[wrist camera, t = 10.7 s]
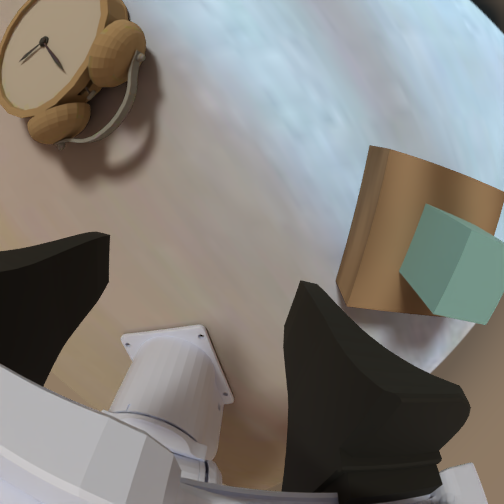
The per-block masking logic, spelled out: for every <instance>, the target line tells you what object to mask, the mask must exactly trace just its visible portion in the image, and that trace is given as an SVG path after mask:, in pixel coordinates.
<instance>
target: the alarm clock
mask: <svg viewBox="0 0 504 504" xmlns="http://www.w3.org/2000/svg"><path fill="white" fill-rule="evenodd" d="M145 50H146V40H145V36H144V33H143V31H142V30H141V28H140V27H139V26H138V25H137V24H135V23H133V22H130V21H128V14H127V8H126V6H125V4H124V3H123V1H122V0H28V1H27V2H26V3H25V4H24V5H23V6H22V7H21V8H20V9H19V11H18V12H17V14H16V15H15V17H14V18H13V20H12V21H11V23H10V24H9V26H8V28H7V30H6V32H5V34H4V36H3V39H2V41H1V44H0V104H1V105H2V106H3V108H4V109H5V110H6V111H7V113H9V114H12V115H14V116H17V117H20V118H27V117H33V118H31V119H30V120H29V122H28V123H27V126H28V131H29V133H30V135H31V137H32V138H33V139H34V140H35V141H37V142H39V143H42V144H53V145H57V148H58V149H59V150H63V149H64V147H65V143H67V142H76V143H86V142H95V141H98V140H101V139H103V138H104V137H106V136H107V135H109V134H111V133H112V132H113V131H114V130H115V129H116V128H117V127H119V125H120V124H121V123H122V122H123V120H124V119H125V118H126V116H127V114H128V113H129V111H130V109H131V108H132V106H133V103H134V100H135V97H136V92H137V78H138V71H139V66H140V65H141V63H142V61H144V60H145ZM127 80H128V85H127V90H126V94H125V97H124V100H123V103H122V104H121V106H120V108H119V110H118V111H117V113H116V115H115V116H114V117H113V118H112V120H111V121H110V122H109V123H108V124H107V125H106V126H105V127H104V128H103V129H102V130H101V131H99V132H98V133H96V134H94V135H93V136H91V137H88V138H85V139H80V138H73V137H75V136H76V135H78V134H79V133H80V132H81V131H82V130H83V129H84V128H85V127H86V125H87V123H88V121H89V118H90V112H91V110H90V105H89V104H87V102H88V101H89V100H91V99H92V98H93V97H94V96H95V95H96V94H97V93H98V92H99V91H100V90H101V88H102V87H115V86H118V85H120V84H123V83H124V82H126V81H127Z"/></svg>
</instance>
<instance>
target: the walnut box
mask: <svg viewBox="0 0 504 504" xmlns="http://www.w3.org/2000/svg"><path fill="white" fill-rule="evenodd" d="M503 203H504V192H503V191H501V190H499V189H497V188H494V187H492V186H490V185H487V184H485V183H483V182H480V181H478V180H476V179H473V178H471V177H468V176H466V175H463V174H461V173H458V172H456V171H453V170H450V169H448V168H445V167H442V166H440V165H437V164H434V163H431V162H428V161H425V160H423V159H420V158H417V157H414V156H410V155H407V154H404V153H401V152H398V151H395V150H391V149H387V148H382V147H376V146H371V145H370V146H369V151H368V156H367V161H366V165H365V170H364V174H363V179H362V183H361V188H360V192H359V196H358V200H357V204H356V209H355V213H354V217H353V220H352V224H351V228H350V232H349V236H348V239H347V243H346V247H345V250H344V254H343V257H342V261H341V264H340V268H339V271H338V275H337V278H336V282H337V285H338V287H339V289H340V292H341V294H342V296H343V299H344V301H345V303H346V306H348V307H356V308H364V309H373V310H381V311H390V312H399V313H409V314H418V315H429V316H439V317H445V316H440V315H435V314H433V313H432V312H431V311H430V309H429V308H428V307H427V306H426V304H425V303H424V302H423V300H422V299H421V298H420V297H419V295H418V294H417V293H416V292H415V290H414V289H413V288H412V287H411V285H410V284H409V283H408V282H407V281H406V279H405V278H404V277H403V276H402V274H401V273H400V272H399V270H400V268H401V265H402V263H403V261H404V258H405V256H406V254H407V251H408V249H409V246H410V244H411V241H412V239H413V236H414V234H415V231H416V229H417V226H418V223H419V221H420V218H421V215H422V213H423V210H424V207H425V204H429V205H431V206H433V207H436V208H438V209H441V210H443V211H445V212H447V213H450V214H452V215H454V216H457V217H459V218H461V219H463V220H465V221H468V222H470V223H472V224H474V225H476V226H478V227H479V228H481V229H483V230H484V231H486V232H488V233H489V234H491V235H493V236H494V234H495V230H496V227H497V224H498V221H499V217H500V214H501V210H502V206H503Z"/></svg>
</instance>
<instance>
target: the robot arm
mask: <svg viewBox="0 0 504 504" xmlns="http://www.w3.org/2000/svg"><path fill="white" fill-rule="evenodd" d="M109 245H110V235H108V234H104V233H100V232H88V233H83V234H79V235H75V236H71V237H67V238H63V239H60V240H56V241H52V242H48V243H44V244H39V245H35V246H31V247H26V248H21V249H15V250H8V251H0V504H488V502H487V499H486V496H485V493H484V491H483V488H482V485H481V482H480V480H479V477H478V474H477V472H476V469H475V467H474V464H473V463H467V464H463V465H459V466H454V467H450V468H447V469H445V470H442V471H441V472H439V471H438V468H437V465H436V464H438V463H439V462H440V461H441V459H442V458H441V455H440V452H439V450H440V449H441V448H442V447H443V446H444V445H445V444H446V443H447V442H448V441H449V440H450V439H451V438H452V437H453V436H454V435H455V434H456V433H457V432H458V431H459V430H460V429H461V427H462V426H463V425H464V423H465V422H466V420H467V418H468V416H469V413H470V408H471V407H470V404H469V402H468V400H467V398H466V396H465V394H464V392H463V390H462V389H461V387H460V386H459V385H456V384H454V383H451V382H449V381H446V380H444V379H441V378H439V377H436V376H434V375H431V374H429V373H427V372H425V371H423V370H421V369H419V368H417V367H415V366H414V365H412V364H410V363H408V362H406V361H405V360H403V359H402V358H400V357H398V356H397V355H395V354H394V353H392V352H391V351H389V350H388V349H386V348H385V347H383V346H382V345H381V344H379V343H378V342H377V341H376V340H374V339H373V338H372V337H370V336H369V335H368V334H367V333H366V332H364V331H363V330H362V329H361V328H360V327H359V326H358V325H357V324H356V323H355V322H354V321H353V320H352V319H351V318H350V317H348V316H347V315H346V313H345V312H344V311H343V310H342V309H341V308H340V307H339V306H338V305H337V304H336V303H335V302H334V301H333V300H332V299H331V298H330V297H329V296H328V294H327V293H326V292H325V291H324V290H323V289H322V288H321V287H320V286H318V285H317V284H314V283H310V282H305V281H301V280H300V283H299V286H298V289H297V292H296V295H295V298H294V300H293V303H292V306H291V309H290V311H289V314H288V317H287V320H286V322H285V325H284V345H283V349H284V360H285V370H286V380H287V390H288V432H287V447H286V458H285V468H284V477H283V485H282V491H281V492H279V491H267V490H256V489H247V488H239V487H232V486H226V485H222V474H221V472H220V470H219V469H218V467H217V465H216V463H215V462H214V461H212V460H213V459H214V457H215V455H216V453H217V450H218V444H219V437H220V430H221V422H222V415H223V408H224V404H231V403H233V402H234V397H233V394H232V392H231V390H230V387H229V385H228V383H227V380H226V378H225V375H224V373H223V371H222V368H221V366H220V363H219V361H218V358H217V356H216V353H215V351H214V348H213V346H212V343H211V341H210V338H209V336H208V333H207V330H206V328H205V327H204V326H203V325H192V326H185V327H178V328H170V329H163V330H155V331H147V332H138V333H129V334H123V335H122V337H121V341H122V343H123V345H124V347H125V349H126V351H127V352H128V354H129V356H130V358H131V360H132V363H131V365H130V367H129V369H128V371H127V373H126V376H125V378H124V380H123V382H122V384H121V386H120V388H119V390H118V392H117V394H116V396H115V398H114V400H113V403H112V405H111V407H110V409H109V411H106V410H102V411H101V412H100V411H97V410H95V409H92V408H90V407H87V406H85V405H82V404H80V403H77V402H75V401H73V400H71V399H68V398H66V397H64V396H62V395H59V394H57V393H55V392H53V391H51V390H49V389H47V388H45V387H43V386H44V383H45V381H46V379H47V377H48V375H49V373H50V371H51V369H52V367H53V365H54V363H55V361H56V359H57V357H58V355H59V353H60V352H61V350H62V348H63V346H64V345H65V343H66V342H67V340H68V339H69V337H70V336H71V335H72V334H73V332H74V331H75V330H76V328H77V327H78V326H79V324H80V323H81V322H82V321H83V319H84V318H85V317H86V316H87V314H88V313H89V312H90V310H91V309H92V308H93V307H94V305H95V304H96V303H97V301H98V300H99V298H100V296H101V295H102V293H103V291H104V290H105V288H106V286H107V284H108V282H109ZM200 335H203V336H204V337H201V336H200ZM128 343H129V344H130V345H129V344H128Z"/></svg>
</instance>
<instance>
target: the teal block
mask: <svg viewBox="0 0 504 504" xmlns="http://www.w3.org/2000/svg"><path fill="white" fill-rule="evenodd" d="M399 272H400V273H401V274H402V276H403V277H404V278H405V279H406V281H407V282H408V283H409V284H410V285H411V287H412V288H413V289H414V290H415V292H416V293H417V294H418V295H419V297H420V298H421V299H422V300H423V302H424V303H425V304H426V306H427V307H428V308H429V309H430V311H431V312H432V313H433V314H435V315H440V316H445V317H449V318H454V319H459V320H464V321H469V322H474V323H479V324H483V325H486V324H487V322H488V321H489V319H490V317H491V315H492V313H493V311H494V310H495V308H496V306H497V304H498V302H499V300H500V298H501V296H502V294H503V292H504V242H502V241H501V240H499V239H498V238H496V237H494V236H493V235H491V234H489V233H488V232H486V231H484V230H483V229H481V228H479V227H478V226H476V225H474V224H472V223H470V222H468V221H465V220H463V219H461V218H459V217H457V216H454V215H452V214H450V213H447V212H445V211H443V210H441V209H438V208H436V207H433V206H431V205H429V204H425V207H424V210H423V213H422V215H421V218H420V221H419V223H418V226H417V229H416V231H415V234H414V236H413V239H412V241H411V244H410V246H409V249H408V251H407V254H406V256H405V258H404V261H403V263H402V265H401V268H400V270H399Z"/></svg>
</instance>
